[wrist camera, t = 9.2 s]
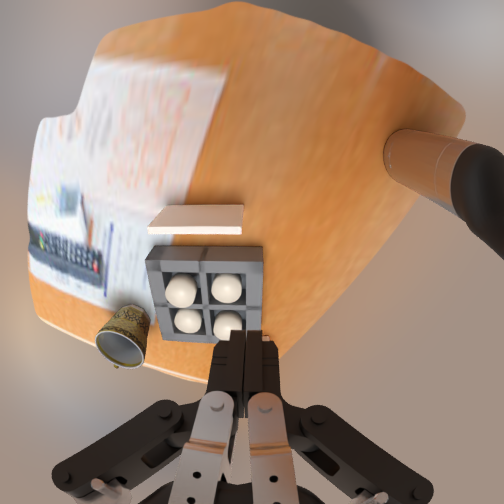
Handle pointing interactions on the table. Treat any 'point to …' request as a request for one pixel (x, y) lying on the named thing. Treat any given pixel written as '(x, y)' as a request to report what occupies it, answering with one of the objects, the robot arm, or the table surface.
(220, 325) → the button
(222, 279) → the button
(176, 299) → the button
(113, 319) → the ceramic cup
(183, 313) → the button
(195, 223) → the card
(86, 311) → the table surface
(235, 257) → the board
